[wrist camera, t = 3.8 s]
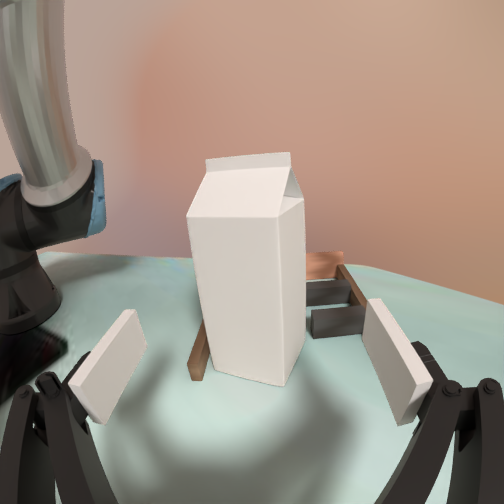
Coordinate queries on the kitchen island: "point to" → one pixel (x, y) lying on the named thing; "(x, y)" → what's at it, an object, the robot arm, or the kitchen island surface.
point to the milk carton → (251, 264)
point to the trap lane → (316, 294)
